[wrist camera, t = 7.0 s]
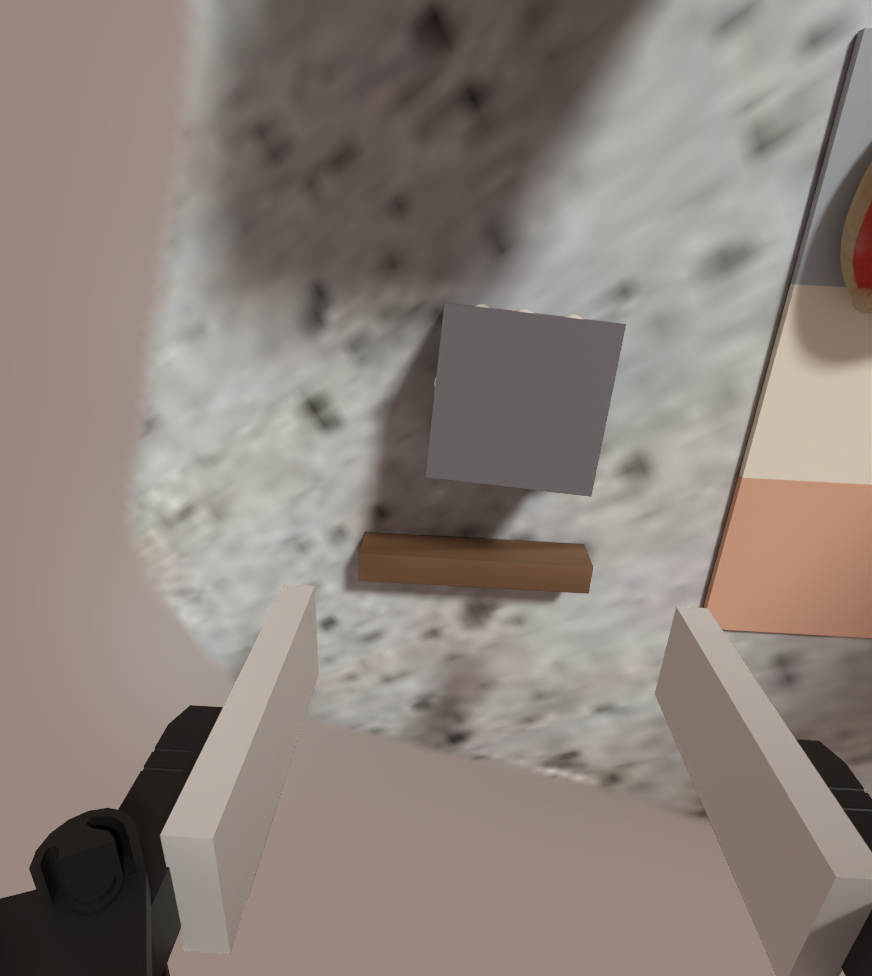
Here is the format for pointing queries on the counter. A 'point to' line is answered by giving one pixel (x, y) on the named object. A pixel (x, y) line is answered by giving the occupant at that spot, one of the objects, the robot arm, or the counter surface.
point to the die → (521, 398)
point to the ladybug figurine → (859, 246)
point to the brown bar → (475, 562)
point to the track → (811, 427)
